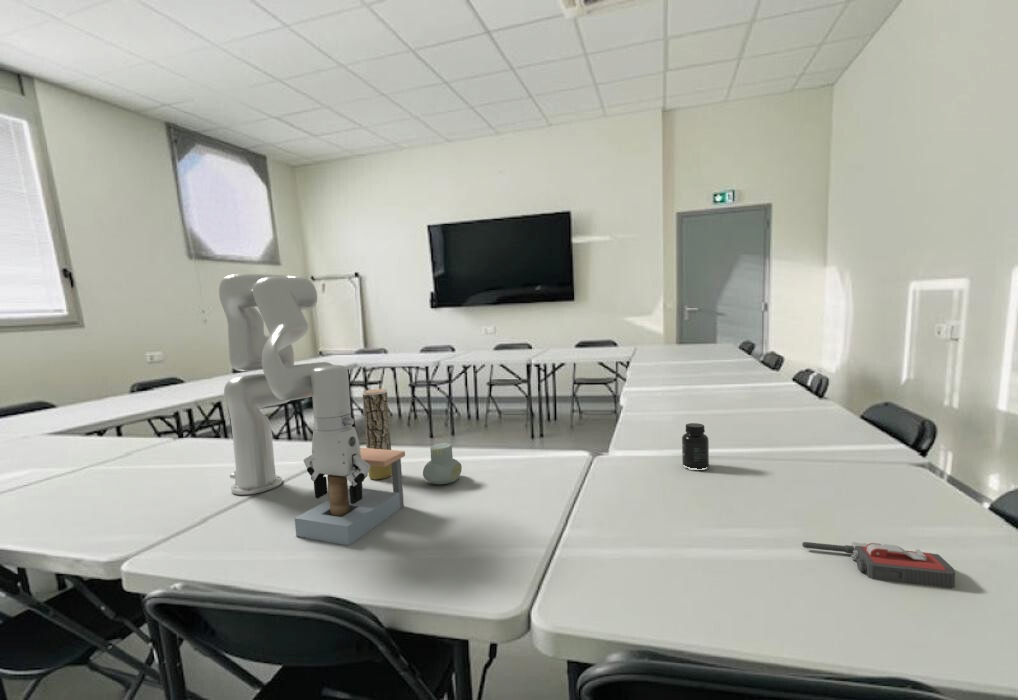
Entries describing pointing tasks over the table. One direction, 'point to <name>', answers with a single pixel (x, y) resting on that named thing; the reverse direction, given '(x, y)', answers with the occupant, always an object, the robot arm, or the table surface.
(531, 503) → the table surface
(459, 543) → the table surface
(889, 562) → the walkie-talkie
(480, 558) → the table surface
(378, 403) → the bark textured cylinder
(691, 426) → the supplement bottle
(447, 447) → the air freshener
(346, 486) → the peg
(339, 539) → the socket deck
